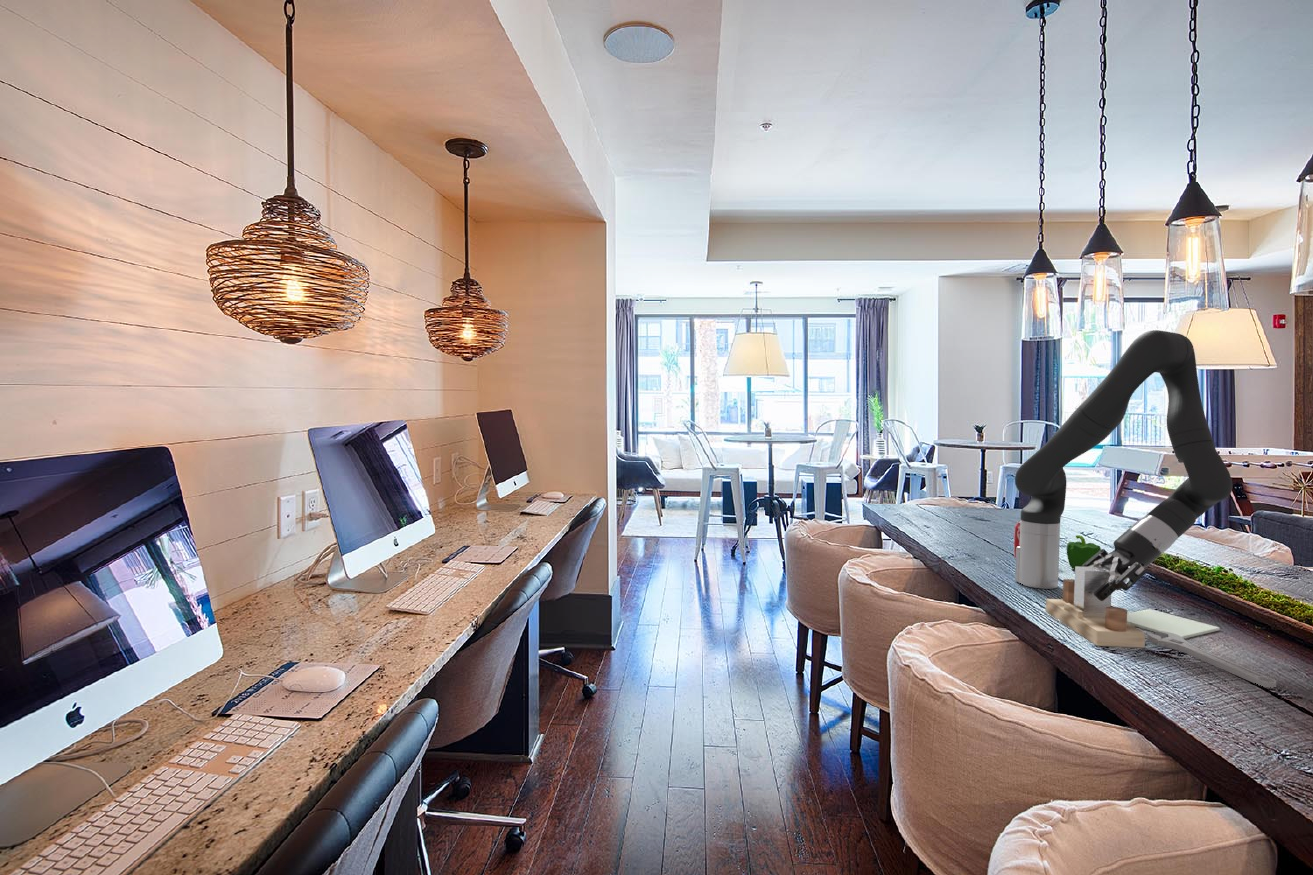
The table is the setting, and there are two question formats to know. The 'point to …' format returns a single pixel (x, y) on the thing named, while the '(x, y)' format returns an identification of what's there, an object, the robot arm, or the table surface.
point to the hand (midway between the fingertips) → (1086, 591)
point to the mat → (1168, 623)
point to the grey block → (1090, 591)
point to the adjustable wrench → (1208, 657)
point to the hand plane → (1095, 622)
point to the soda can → (1017, 537)
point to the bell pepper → (1081, 552)
